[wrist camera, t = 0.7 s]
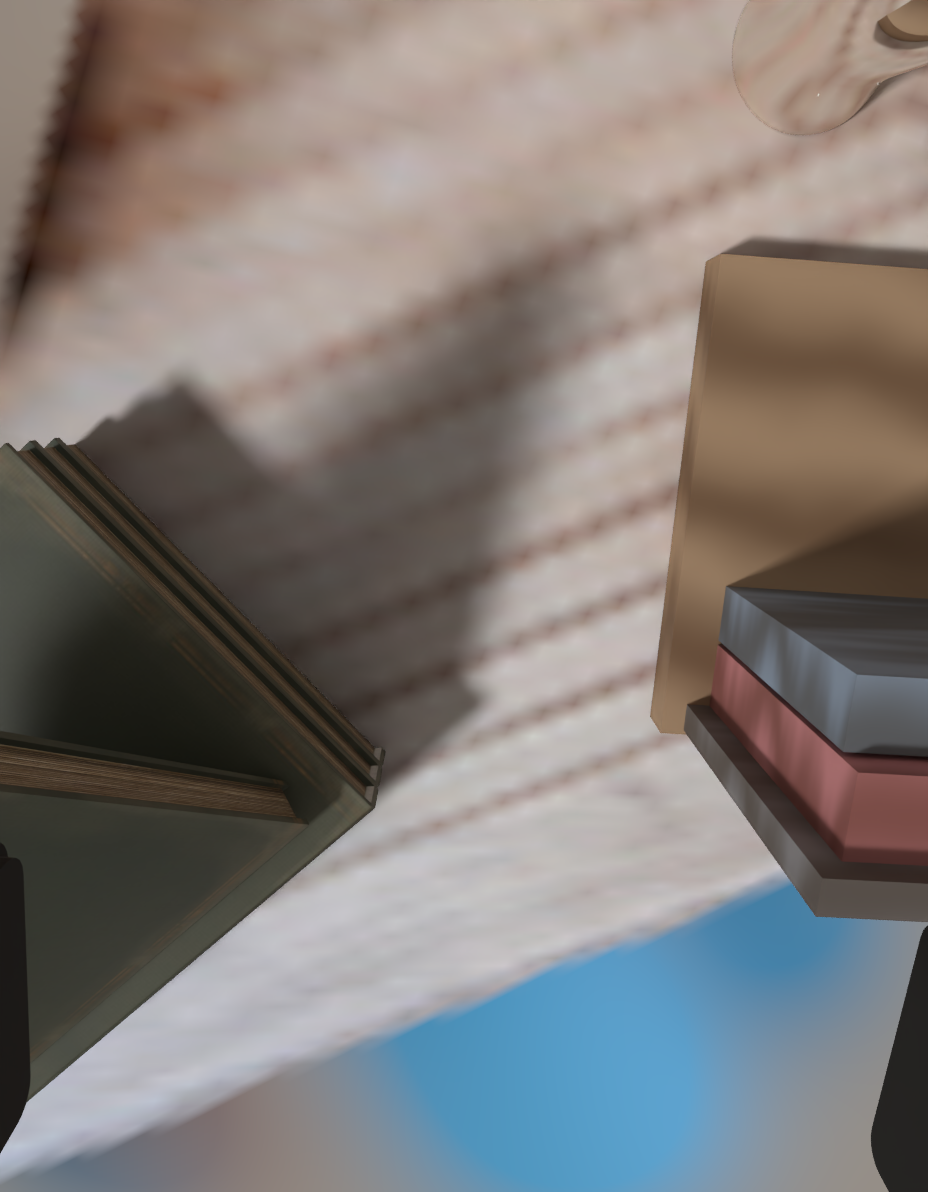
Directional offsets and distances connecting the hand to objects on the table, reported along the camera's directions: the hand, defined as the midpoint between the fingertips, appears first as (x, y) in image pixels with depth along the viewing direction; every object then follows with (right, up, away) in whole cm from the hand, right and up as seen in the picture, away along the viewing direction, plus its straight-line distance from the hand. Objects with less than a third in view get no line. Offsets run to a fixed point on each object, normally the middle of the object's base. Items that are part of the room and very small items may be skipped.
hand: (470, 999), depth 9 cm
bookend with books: (+16, +8, +29) cm, 34 cm away
